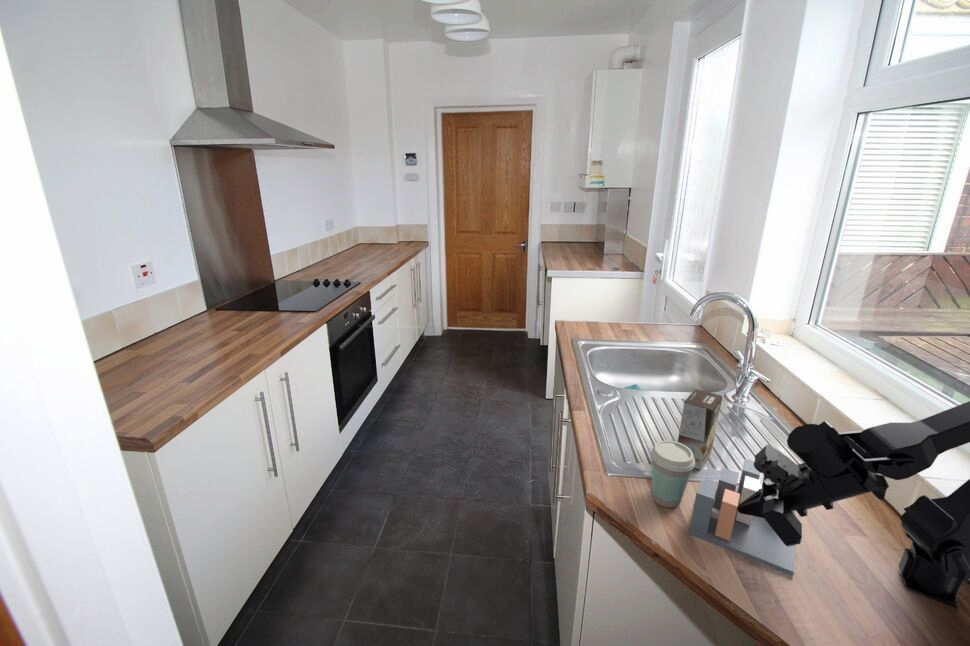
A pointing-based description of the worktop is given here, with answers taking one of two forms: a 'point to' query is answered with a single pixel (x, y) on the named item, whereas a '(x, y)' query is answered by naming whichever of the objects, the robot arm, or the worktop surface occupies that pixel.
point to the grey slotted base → (739, 524)
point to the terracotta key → (726, 514)
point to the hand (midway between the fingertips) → (738, 509)
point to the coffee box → (700, 424)
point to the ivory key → (747, 491)
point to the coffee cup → (670, 472)
